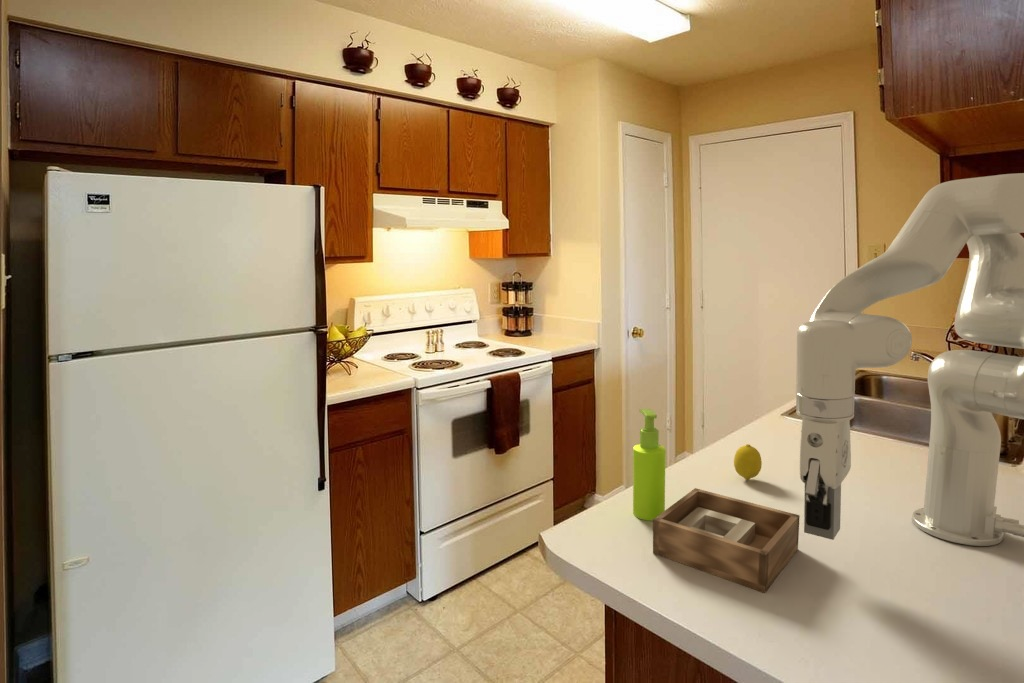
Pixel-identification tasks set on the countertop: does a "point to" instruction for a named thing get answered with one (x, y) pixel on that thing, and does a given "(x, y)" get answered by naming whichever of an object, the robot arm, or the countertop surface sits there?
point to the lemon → (747, 462)
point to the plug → (835, 514)
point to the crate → (727, 537)
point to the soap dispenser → (648, 471)
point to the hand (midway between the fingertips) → (822, 519)
